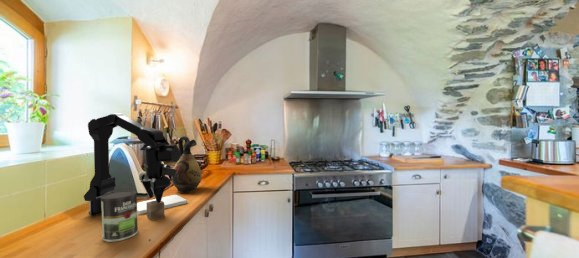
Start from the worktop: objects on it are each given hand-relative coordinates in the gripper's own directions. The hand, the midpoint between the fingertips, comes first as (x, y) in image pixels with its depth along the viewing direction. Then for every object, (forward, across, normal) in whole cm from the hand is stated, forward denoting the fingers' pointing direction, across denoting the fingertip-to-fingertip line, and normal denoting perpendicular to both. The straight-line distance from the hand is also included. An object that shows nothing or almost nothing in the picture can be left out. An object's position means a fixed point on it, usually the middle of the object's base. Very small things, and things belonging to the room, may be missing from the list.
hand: (154, 200), depth 105 cm
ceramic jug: (+7, +29, -25) cm, 39 cm away
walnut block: (+7, 0, 0) cm, 7 cm away
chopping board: (+7, +14, -6) cm, 17 cm away
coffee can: (+7, -9, +14) cm, 18 cm away
